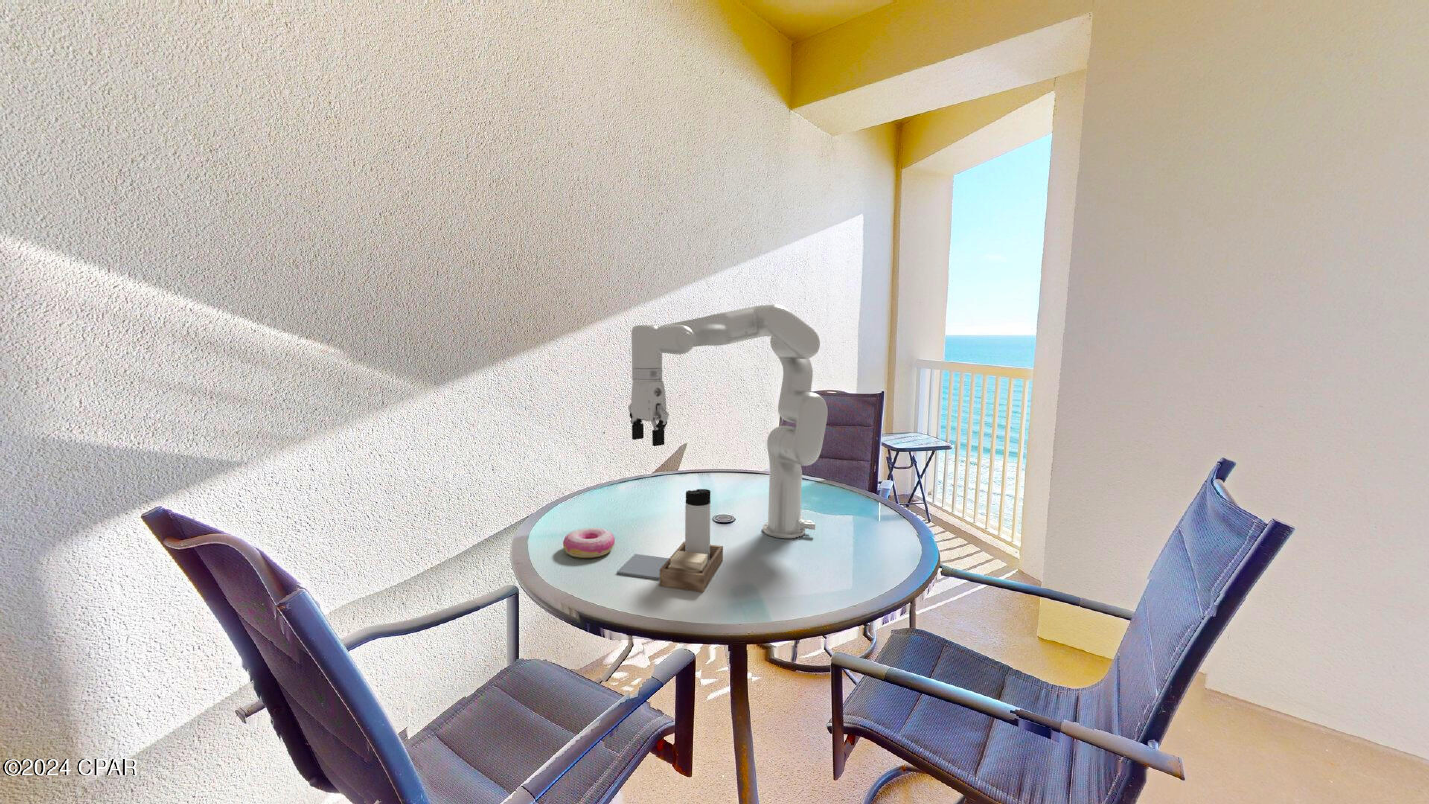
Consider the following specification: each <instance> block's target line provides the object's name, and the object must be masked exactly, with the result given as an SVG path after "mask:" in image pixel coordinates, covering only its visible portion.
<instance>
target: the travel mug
mask: <svg viewBox="0 0 1429 804" xmlns="http://www.w3.org/2000/svg"><path fill="white" fill-rule="evenodd" d="M711 492H712V491H711V490H710V489H707V488H705V489H704V488H698V489H697V488H696V489H694V490H686V492H685V501H684V502H685V510H684V511H685V513H684V517H685V518H684V519H685V520H684V521H685V522H684V523H685V525H684V527H685V528H684V529H685V532H684V539H685V540H684V541H685V552H693V553H700V554H708V562H707V564H708V563H709V561H710V545H711V509H712V508H711V507H712V506H711ZM707 564H706V565H705V567H706V566H707Z"/></svg>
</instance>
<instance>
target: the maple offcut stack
mask: <svg viewBox="0 0 1429 804" xmlns="http://www.w3.org/2000/svg"><path fill="white" fill-rule="evenodd" d="M673 554H674V553H673ZM673 554H672V555H673ZM707 562H708V554H700V553H693V552H685V551H677V552H676V553H675V554H674V555H673V557H672V558H671V561H670V565H669V566H668V569H671V570H678V571H686V572H693V573H702V572H703V570H704V569H705V565H706V564H707Z"/></svg>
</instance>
